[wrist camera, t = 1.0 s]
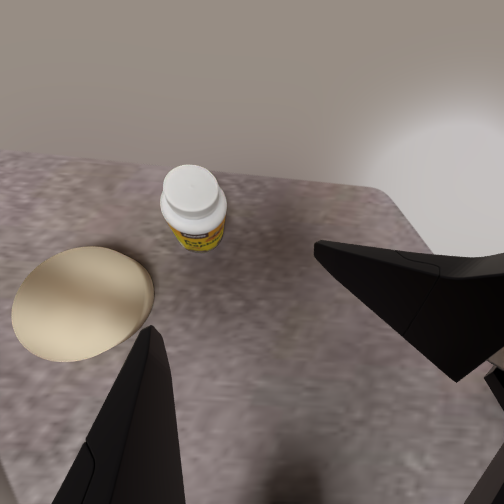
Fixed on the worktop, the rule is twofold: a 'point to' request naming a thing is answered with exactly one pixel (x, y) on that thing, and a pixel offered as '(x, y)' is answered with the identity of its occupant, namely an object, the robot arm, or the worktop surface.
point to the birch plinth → (81, 304)
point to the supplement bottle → (194, 207)
